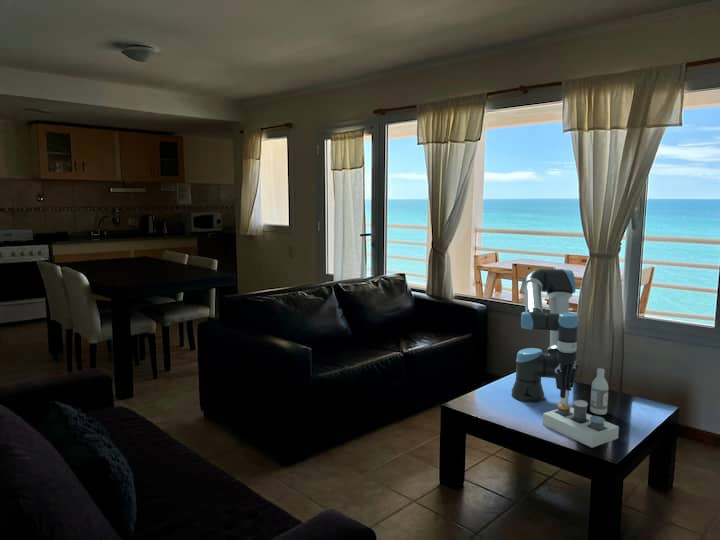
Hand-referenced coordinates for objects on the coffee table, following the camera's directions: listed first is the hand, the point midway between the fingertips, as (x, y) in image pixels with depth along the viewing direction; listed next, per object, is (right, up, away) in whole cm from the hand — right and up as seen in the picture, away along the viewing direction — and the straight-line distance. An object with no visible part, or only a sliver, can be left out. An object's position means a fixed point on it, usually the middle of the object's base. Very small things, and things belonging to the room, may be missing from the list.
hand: (564, 404), depth 218 cm
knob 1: (0, -8, +1) cm, 8 cm away
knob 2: (+4, -5, -6) cm, 9 cm away
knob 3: (+8, -10, -13) cm, 18 cm away
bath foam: (+21, -7, +14) cm, 26 cm away
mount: (+4, -10, -6) cm, 12 cm away
